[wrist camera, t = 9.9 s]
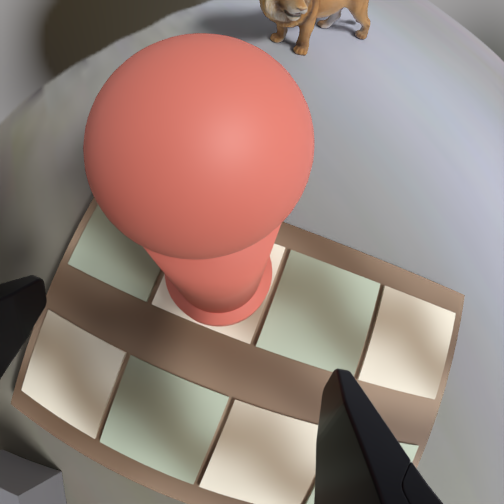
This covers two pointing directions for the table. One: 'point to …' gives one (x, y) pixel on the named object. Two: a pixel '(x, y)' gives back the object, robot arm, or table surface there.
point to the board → (230, 365)
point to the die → (29, 482)
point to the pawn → (201, 166)
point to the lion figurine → (311, 17)
